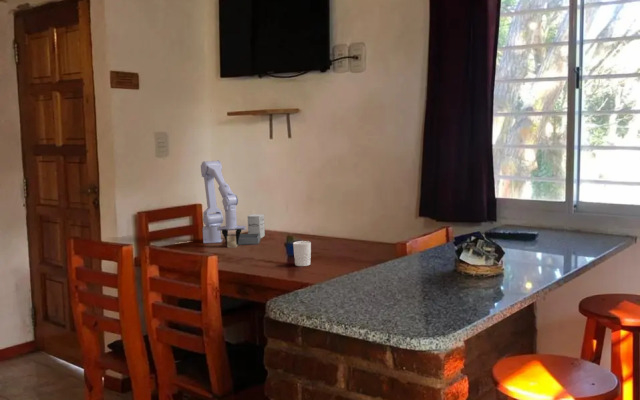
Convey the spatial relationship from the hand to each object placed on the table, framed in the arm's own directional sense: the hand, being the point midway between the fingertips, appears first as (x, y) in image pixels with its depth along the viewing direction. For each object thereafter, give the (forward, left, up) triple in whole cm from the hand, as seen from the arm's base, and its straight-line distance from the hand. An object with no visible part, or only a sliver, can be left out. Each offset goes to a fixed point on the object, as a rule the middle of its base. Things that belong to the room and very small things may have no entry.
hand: (232, 244), depth 339 cm
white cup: (+38, -48, -2) cm, 61 cm away
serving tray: (+5, +11, -1) cm, 12 cm away
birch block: (0, 0, -1) cm, 1 cm away
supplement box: (+10, +26, -2) cm, 28 cm away
